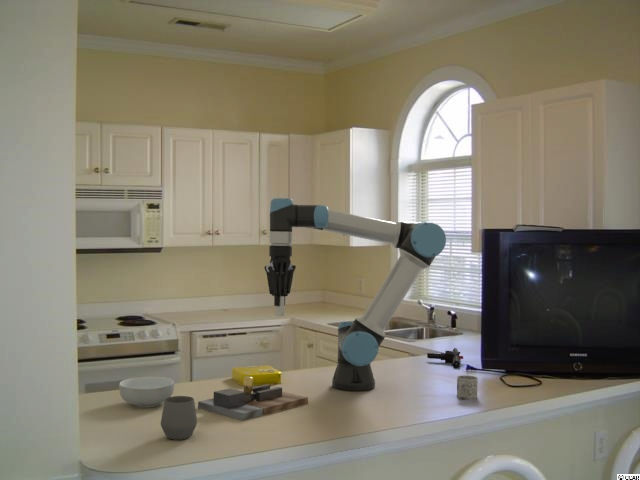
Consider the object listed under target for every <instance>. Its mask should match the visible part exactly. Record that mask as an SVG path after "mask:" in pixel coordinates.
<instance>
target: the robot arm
mask: <svg viewBox="0 0 640 480" xmlns="http://www.w3.org/2000/svg"><path fill="white" fill-rule="evenodd" d="M293 200H294V199H292V198H284V197H283V198H282V197H281V198H280V197H279V198H278V197H277V198H272V199H271V200H270V205H269V206H270V207H269V244H270V245H269V249H268V250H269V253H268V255H269V257H270V261H269V264H268V265H265V266H264V271H265V274H266V279H267V284H268V292H269V295H271V297H272V296H273V298H274V299H273V301H274V302H273V304H274V316H275V317H284V316H285V306H286V297H288V295H289V294H290V293H291V288H292V283H293V279H294V272H295V271H296V268H297V267H296V265H293V264H292V263H291V262H292V261H291V257H292V256H293V246H292V244H293V228H306V229H312V230H318V231H323V232H328V233H329V232H330V233H334V234H338V235H345V236H349V237H355V238H360V239H364V240H370V241H374V242H380V243H385V244H390V245H391V246H392V247H393V248H394V249H398V250H399V251H398V252H399V254H400V255H399V257H398V259H397V261H396V262H395V263H394V265H393V267H392V268H391V270H390V271H389V273H388V274H387V276H386V278H385V279H384V281H383V282H382V285H381V286H380V287H379V289H378V291H377V292H376V294H375V296H374V297H373V299H372V300H371V302H370V304H369V305H368V306H367V308H366V310H365V312H364V313H363V315H362V316H359V317H356V318H355V319H354V320H353V321H340V322H339V323H338V325H337V326H338V327H337V364H336V368H335V370H334V373H333V377H332V379H331V380H332V382H331V386H332V387H333V388H334V389H337V390H341V391H348V392H349V391H351V392H352V391H354V392H358V391H359V392H360V391H361V392H363V391H369V390H373V389H374V388H376V380H375V377H374V373H373V369H372V366H371V365H372V364H371V363H372V362H374V360H375V359H376V358H377V356H378V353H379V348H380V346H381V344H382V343H383V342H384V340H385V338H386V333H385V329H387V326H388V324H389V323H390V321H391V320H392V319H393V317H394V315H395V314H396V312H397V310H398V309H399V307H400V305H401V303H402V302H403V301H404V299H405V297H406V296H407V294H408V293H409V291H410V289H412V286H413V285H414V283H415V282H416V280H417V278H418V277H419V275H420V274H421V272H422V271H423V270H424V269H427V268H428V269H429V267H430V266H431V265H432V263H433V262H434V260H435V258H436V257H437V256H438V255H440V254H441V253H442V252H443V251H444V250H445V248H446V244H447V237H446V233H445V231H444V230H443V227H441V226H440V225H439V224H437V223H436V222H433V221H431V220H430V221H429V220H424V221H416V222H412V221H411V222H408V221H401V220H398V221H397V222H393V221H388V220H381V219H377V218H371V217H366V216H361V215H355V214H352V213H345V212H342V211H341V212H340V211H336V210H331V209H329V207H328V206H327V205H324V204H322V205H321V204H294V202H293Z"/></svg>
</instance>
